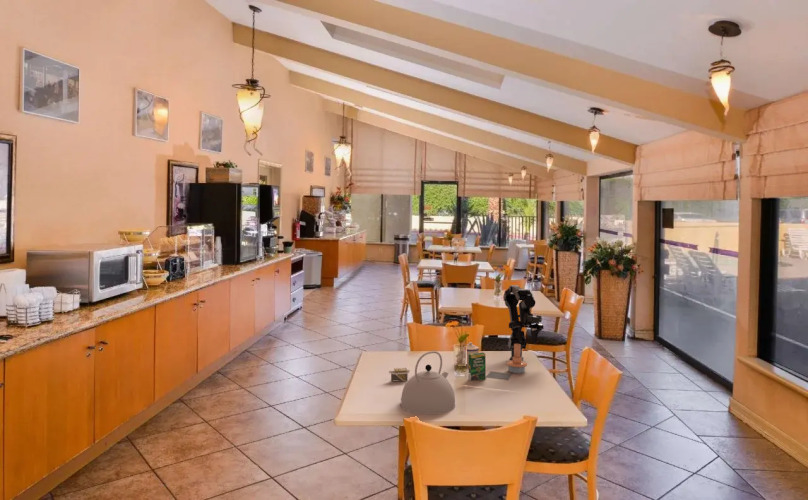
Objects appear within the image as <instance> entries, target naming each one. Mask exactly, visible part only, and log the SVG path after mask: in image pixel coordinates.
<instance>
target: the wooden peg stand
mask: <svg viewBox="0 0 808 500" xmlns="http://www.w3.org/2000/svg"><path fill="white" fill-rule="evenodd" d="M520 352H521V344H514V356H513V360H508V361H506V365H507V366H508V367H509V366H511V367H525V368H526V367H527V366H528V362H526V361H523V359H522V357H523V356H522V357H520Z"/></svg>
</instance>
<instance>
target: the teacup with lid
mask: <svg viewBox="0 0 808 500" xmlns="http://www.w3.org/2000/svg"><path fill="white" fill-rule="evenodd" d="M466 345H467V365H466V366H469V354H474V353H480V352H479V351H480V348H479V346H478V345H477V346H476V345H475V344H473V342H471V341H470V342H467V344H466Z"/></svg>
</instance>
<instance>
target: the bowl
mask: <svg viewBox="0 0 808 500" xmlns="http://www.w3.org/2000/svg"><path fill="white" fill-rule="evenodd" d="M508 372H510V373H511V374H523V373H525V372H526V367H511V366H508Z"/></svg>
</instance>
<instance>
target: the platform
mask: <svg viewBox="0 0 808 500" xmlns="http://www.w3.org/2000/svg"><path fill="white" fill-rule="evenodd" d="M388 373H389V374H390V378H391V379H390V382H394V381H393V380H402V381H401V382H405V381H404V380H406V381H408V380H409V379H408V374H410V369H407V368H406V367H404V368H402V367H400V368H399V367H396V368H393V370H389V371H388Z"/></svg>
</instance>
